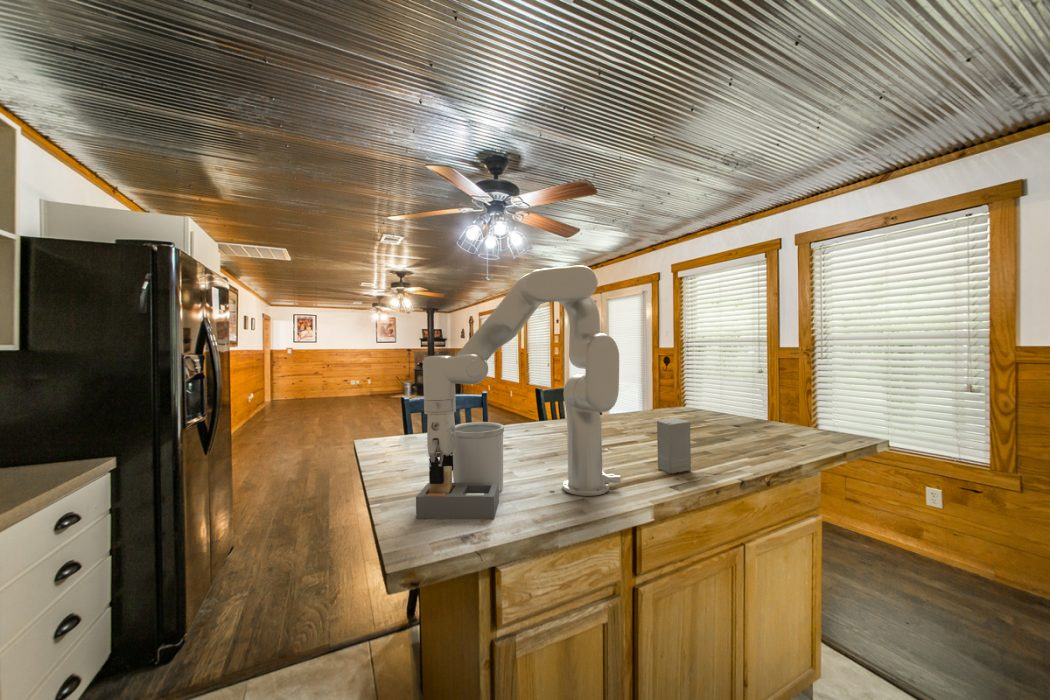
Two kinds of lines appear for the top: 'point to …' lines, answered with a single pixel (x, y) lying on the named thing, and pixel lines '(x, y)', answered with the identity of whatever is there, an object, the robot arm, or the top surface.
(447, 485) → the plug
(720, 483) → the top surface
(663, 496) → the top surface
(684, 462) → the skincare box
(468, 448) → the utensil holder
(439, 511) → the socket block
